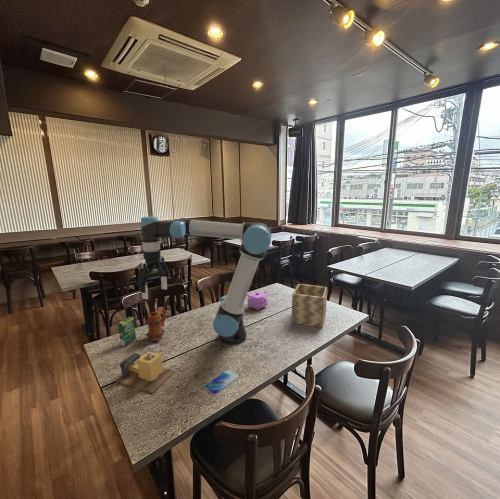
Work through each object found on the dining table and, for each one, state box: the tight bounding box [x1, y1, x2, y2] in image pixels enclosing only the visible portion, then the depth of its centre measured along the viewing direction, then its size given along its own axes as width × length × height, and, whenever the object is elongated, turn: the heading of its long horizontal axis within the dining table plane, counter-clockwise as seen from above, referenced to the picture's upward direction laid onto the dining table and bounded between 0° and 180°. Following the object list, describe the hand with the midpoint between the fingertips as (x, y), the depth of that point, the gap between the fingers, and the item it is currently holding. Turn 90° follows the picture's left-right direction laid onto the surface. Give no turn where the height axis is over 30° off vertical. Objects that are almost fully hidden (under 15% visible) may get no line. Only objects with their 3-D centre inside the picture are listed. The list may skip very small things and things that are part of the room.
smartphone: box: [203, 368, 241, 396], centre depth 111 cm, size 7×1×15 cm
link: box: [129, 351, 163, 381], centre depth 114 cm, size 16×6×8 cm, turn 68°
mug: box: [145, 306, 166, 342], centre depth 145 cm, size 15×8×15 cm, turn 168°
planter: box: [290, 283, 328, 328], centre depth 165 cm, size 18×19×18 cm
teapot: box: [247, 289, 269, 311], centre depth 182 cm, size 15×13×11 cm
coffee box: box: [117, 315, 137, 348], centre depth 139 cm, size 8×3×13 cm, turn 159°
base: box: [114, 352, 176, 395], centre depth 113 cm, size 19×14×12 cm
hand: (155, 293), depth 130 cm, fingers open, 13 cm apart
